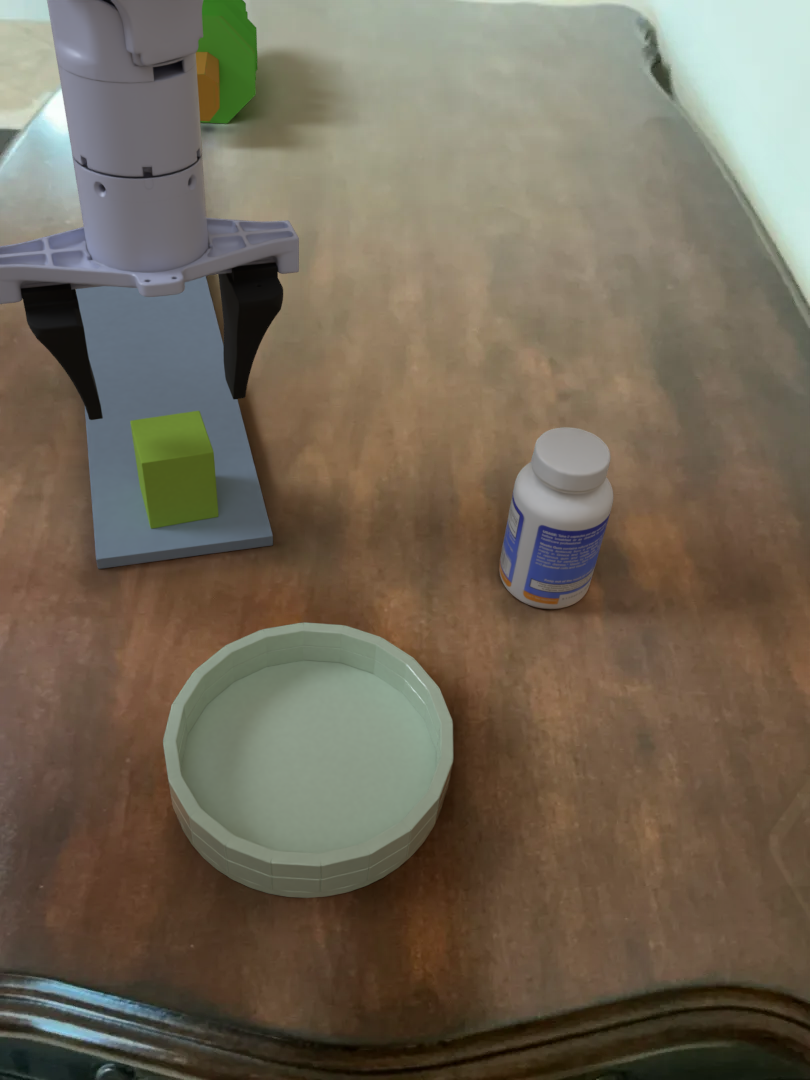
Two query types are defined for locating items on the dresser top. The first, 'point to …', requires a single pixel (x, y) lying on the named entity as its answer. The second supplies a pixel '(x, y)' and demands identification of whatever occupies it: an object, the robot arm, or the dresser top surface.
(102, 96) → the robot arm
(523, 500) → the pill bottle
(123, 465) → the mat
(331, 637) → the basin
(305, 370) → the dresser top surface
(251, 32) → the decorative tree
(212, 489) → the cube
